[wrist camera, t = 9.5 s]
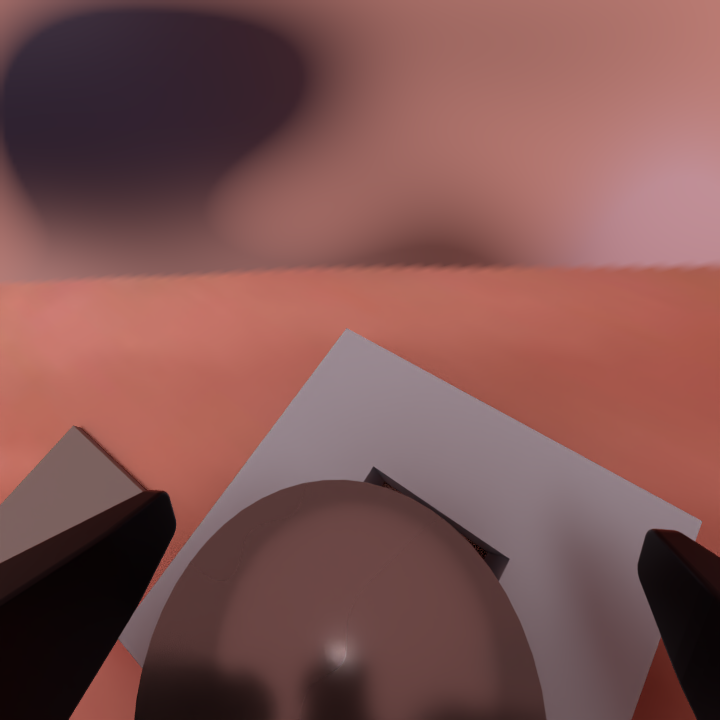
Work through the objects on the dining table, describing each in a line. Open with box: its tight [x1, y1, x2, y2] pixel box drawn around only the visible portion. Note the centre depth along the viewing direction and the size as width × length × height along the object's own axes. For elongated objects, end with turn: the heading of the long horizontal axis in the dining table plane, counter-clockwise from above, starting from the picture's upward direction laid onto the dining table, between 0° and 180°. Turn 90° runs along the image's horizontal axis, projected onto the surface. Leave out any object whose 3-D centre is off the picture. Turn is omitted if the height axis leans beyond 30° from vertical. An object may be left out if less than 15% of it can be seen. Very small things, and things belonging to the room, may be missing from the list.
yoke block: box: [118, 328, 702, 720], centre depth 13 cm, size 12×12×4 cm
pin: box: [135, 480, 547, 720], centre depth 9 cm, size 3×3×12 cm
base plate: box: [0, 426, 145, 563], centre depth 16 cm, size 12×7×1 cm, turn 146°
